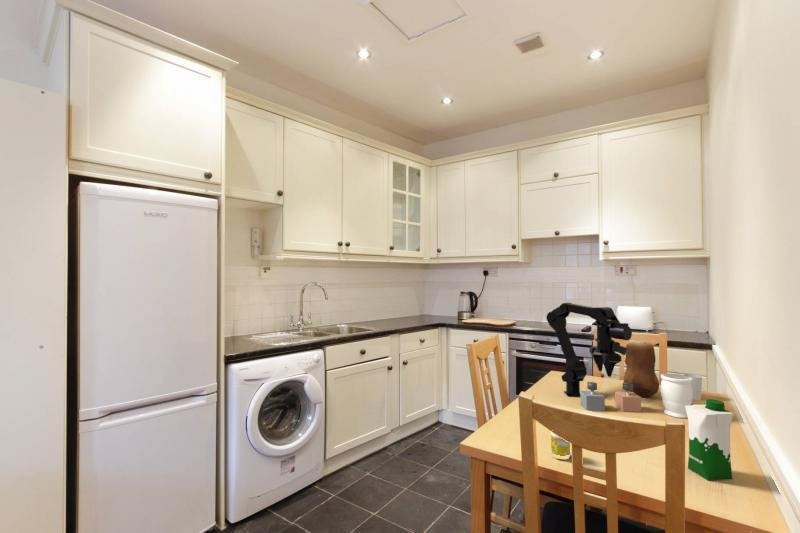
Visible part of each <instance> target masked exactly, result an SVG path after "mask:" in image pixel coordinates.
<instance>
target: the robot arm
mask: <svg viewBox="0 0 800 533" xmlns="http://www.w3.org/2000/svg"><path fill="white" fill-rule="evenodd" d="M571 313H573V314H576V315H581V316H588V317H590V318H591V319H593V320H595V321H594V322H592V323H591V325H592V326H596V338H594V340H595V342H596V346H594V345H591V346H590V347H589V348H588V349H589V350H588V351H589V353H590V355H591V358H592V359H593V361H594V363H595V365H596V367H597V370H598V371H599V372H602V371H603V367H604V370H605V372H606V375H607V377H608V378H611V377H612V374H613V372H614V369H615V366H616V365H617V364H619V363H620V362H622V356H621V355H623V356H626V351H627V348H626V346H622V345H621V344H620V342H618V341H615V340H622V341H631V338H632V335H633V332H632V329H631V327H630V326H629V323H628V322H623V323H622V322H620V320H619V319H618V317H617V315H616V314H615V312H614V310H613V308H611V307H609V306H606V307H605V306H601V307H598V306H597V307H592V306H587V305H582V304H576V303H572V302H562V303H561V304H560V305H559V306H557V307H555V309H553V310H552V311H549V312H548V313H547V314H546V316H545V318H546V322H547V323H548V326H549V327H551V329H553V330H554V332H555V335H556V338H557V339H558V343H559V345H560V348H561V351H562V352H563V356H564V358H565V367H564V368H565V372H564V373H563V374H562V375H561V380H562V382H563V383H565V388H566V389H565V390H564V391H563V393H564V394H565V395H566V396H567V397H580V398H581V392H580V391H581V386H580V382H584V380H585V377H586V376H587V374H588V373H587V372H588V371H587V370H588V368H587V367H586V364H585V361H584V360H580V359H579V358H578V356H577V354H576V352H575V349H574V347H573V344H572V342H571V339H570V336H569V333H568V330H567V318H568V317H569V315H570V314H571ZM614 339H615V340H614Z"/></svg>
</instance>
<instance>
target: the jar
mask: <svg viewBox="0 0 800 533" xmlns="http://www.w3.org/2000/svg"><path fill="white" fill-rule="evenodd" d="M660 378H661V382H660V395H661V400H662V404H663V407H664V410H663V413H664V414H665V415H667V416H669V417H673V418H680V419H688V416H687V412H686V408H685V406H688V405H692V402H693V400H692V397H693V391H692V385H691V382H692V378H691V377H688V376H685V375H684V374H678V373H668V372H667V373H666V372H665V373H661V374H660Z"/></svg>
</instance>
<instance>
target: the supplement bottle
mask: <svg viewBox="0 0 800 533" xmlns="http://www.w3.org/2000/svg"><path fill="white" fill-rule="evenodd" d="M550 445H551V446H550V448H551V449H550V450H551V451H552V453H553V454H556V455H560V456H566V455H569V454H570V455H571V442H570V443H569V442H566V441H565V440H563V439H561V438H560V437H558V436H556V435H555V434H553V433H552V431H551V432H550Z"/></svg>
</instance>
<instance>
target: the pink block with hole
mask: <svg viewBox="0 0 800 533" xmlns="http://www.w3.org/2000/svg"><path fill="white" fill-rule="evenodd" d="M629 394H630V395H626V391H615V393H614V396H615V397H614V399H615V402H614V404H615V407H616V408H617V407H618V408H617V409H619V410H620V411H621V412H623V413H642V397H641V396H638V395H637V394H635V393H634V392H629Z"/></svg>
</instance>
